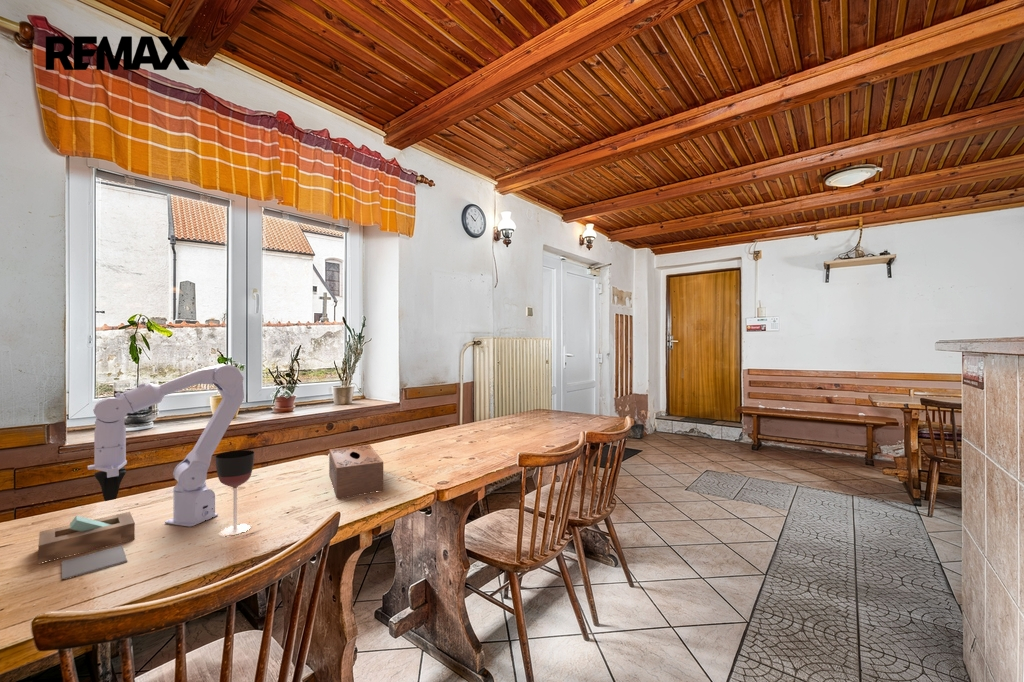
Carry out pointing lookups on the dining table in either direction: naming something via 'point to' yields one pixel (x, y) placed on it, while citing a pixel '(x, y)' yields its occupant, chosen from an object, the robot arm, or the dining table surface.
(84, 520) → the teal block
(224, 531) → the wineglass
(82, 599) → the dining table surface
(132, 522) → the walnut frame
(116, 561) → the grey mat
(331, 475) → the tissue box cover
